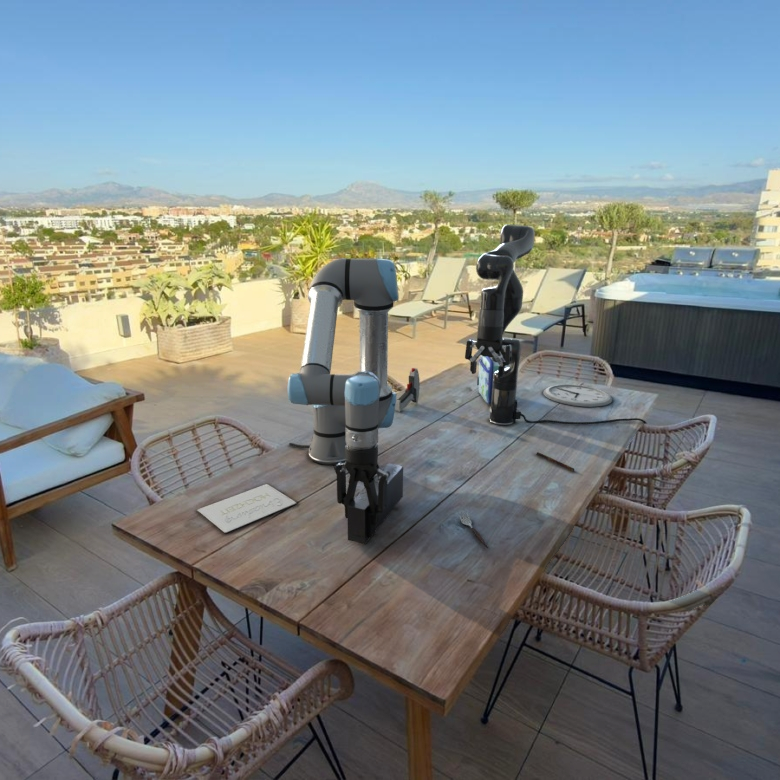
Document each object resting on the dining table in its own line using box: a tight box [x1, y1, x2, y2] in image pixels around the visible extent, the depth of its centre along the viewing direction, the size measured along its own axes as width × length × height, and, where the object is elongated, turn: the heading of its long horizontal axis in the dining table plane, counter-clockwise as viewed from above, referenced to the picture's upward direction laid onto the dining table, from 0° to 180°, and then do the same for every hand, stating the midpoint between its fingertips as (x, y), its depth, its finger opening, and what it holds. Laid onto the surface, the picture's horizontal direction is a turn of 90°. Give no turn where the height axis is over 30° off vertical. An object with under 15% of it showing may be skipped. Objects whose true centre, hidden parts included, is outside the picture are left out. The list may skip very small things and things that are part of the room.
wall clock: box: [543, 384, 613, 408], centre depth 240 cm, size 30×2×30 cm
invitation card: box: [196, 483, 297, 534], centre depth 141 cm, size 21×1×15 cm
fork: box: [457, 509, 489, 549], centre depth 131 cm, size 3×16×2 cm, turn 15°
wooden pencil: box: [535, 451, 575, 472], centre depth 171 cm, size 15×1×1 cm, turn 34°
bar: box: [346, 463, 404, 545], centre depth 134 cm, size 25×4×9 cm, turn 157°
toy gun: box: [395, 367, 421, 413], centre depth 219 cm, size 2×16×15 cm
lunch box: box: [476, 355, 509, 406], centre depth 230 cm, size 26×11×21 cm, turn 179°
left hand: (361, 532), depth 127 cm, fingers closed on bar, 4 cm apart
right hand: (486, 375), depth 162 cm, fingers open, 8 cm apart
